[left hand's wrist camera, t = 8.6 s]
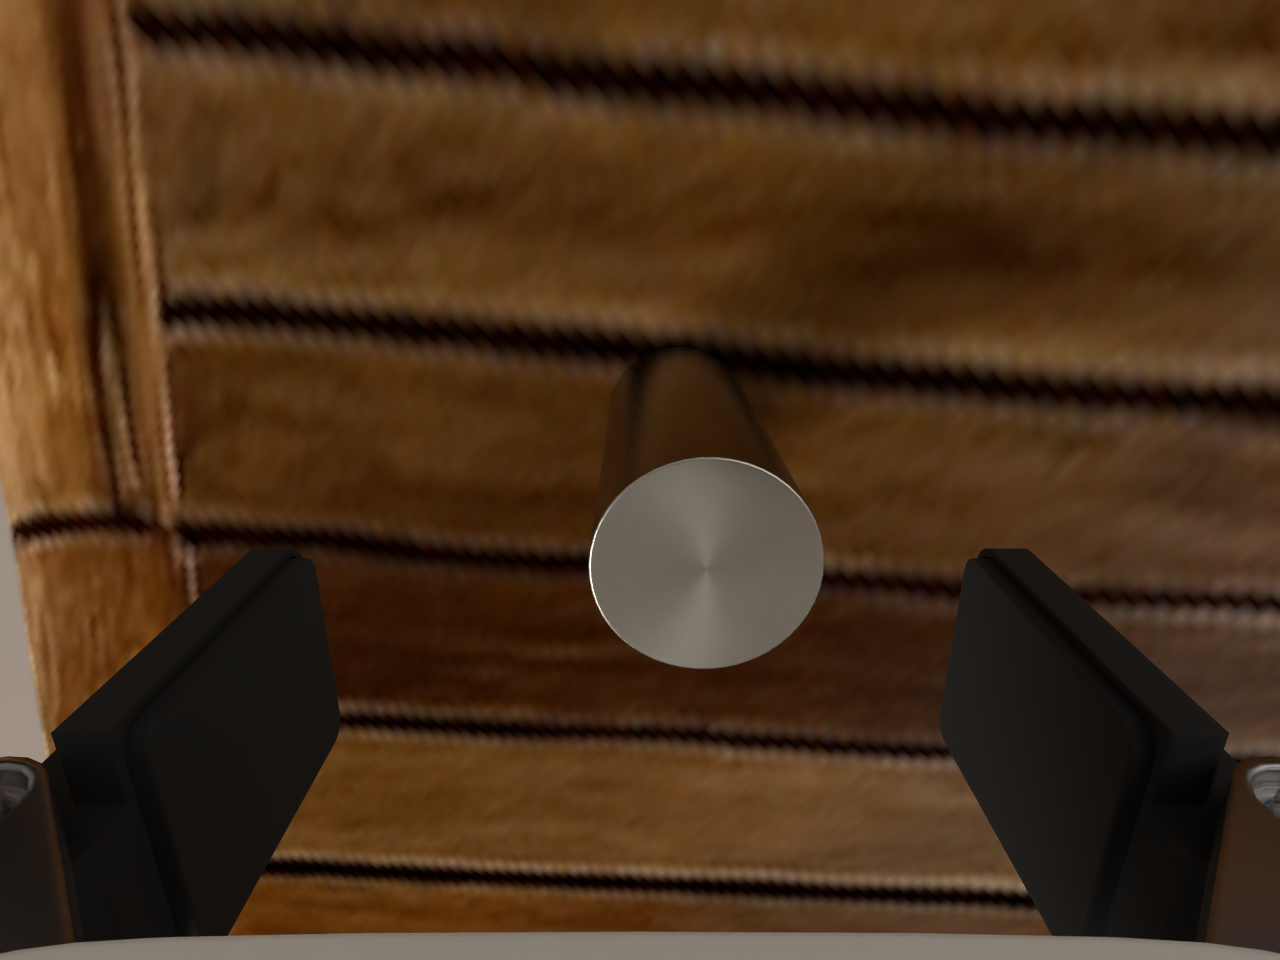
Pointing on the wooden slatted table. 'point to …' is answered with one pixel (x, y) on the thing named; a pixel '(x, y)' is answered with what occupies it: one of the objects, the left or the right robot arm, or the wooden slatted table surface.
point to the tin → (698, 519)
